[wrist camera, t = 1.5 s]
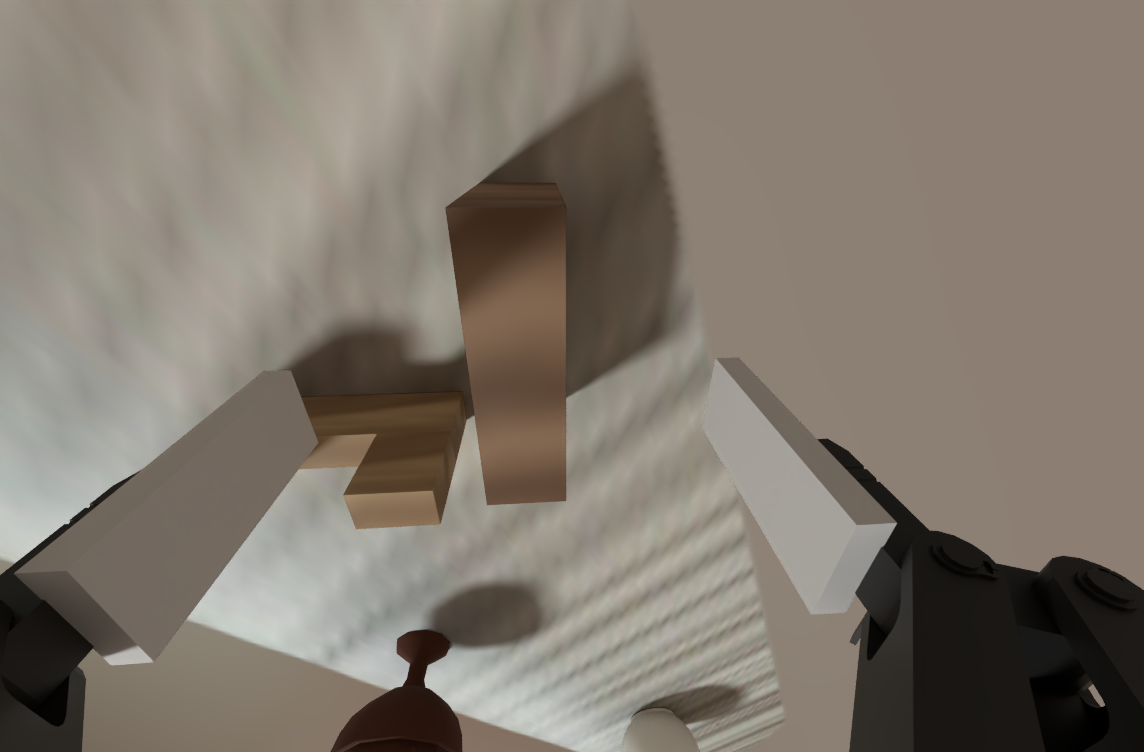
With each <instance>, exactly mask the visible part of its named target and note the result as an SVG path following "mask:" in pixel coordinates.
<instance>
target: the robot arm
mask: <svg viewBox="0 0 1144 752" xmlns="http://www.w3.org/2000/svg"><path fill="white" fill-rule="evenodd" d="M702 429H703V431H704V432H705V434H706V436H707V437H708V439H709V441H710V442H711V444H712V446H713V448H714V449H715V451H716V453H717V454H718V456H719V458H720V460H721V461H722V463H723V465H724V466H725V468H726V470H727V472H728V473H729V475H730V477H731V478H732V480H733V482H734V483H735V485H736V487H737V489H738V490H739V492H740V494H741V495H742V497H743V499H744V501H745V502H746V504H747V506H748V507H749V509H750V511H751V512H752V514H753V516H754V518H755V519H756V521H757V523H758V524H759V526H760V528H761V530H762V531H763V533H764V535H765V536H766V538H767V540H768V542H769V543H770V545H771V547H772V548H773V550H774V552H775V554H776V555H777V557H778V559H779V560H780V562H781V564H782V565H783V567H784V569H785V571H786V572H787V574H788V576H789V577H790V579H791V581H792V582H793V584H794V586H795V588H796V589H797V591H798V593H799V594H800V596H801V598H802V600H803V601H804V603H805V605H806V606H807V608H808V610H809V612H810V613H811V615H814V614H829V613H842V612H846V611H847V609H848V607H849V606H850V604H851V602H852V600H853V599H854V597H855V595H857V597H858V598H859V599H860V601H861V602H862V604H863V605H864V607H865V608H866V609H867V613H866V614H865V616H864V618H863V619H862V621H861V622H860V624H859V626H858V627H857V629H856V630H855V632H854V634H853V636H852V638H851V640H850V643H852V644H854V645H856V644H857V642H858V641H859V639H860V638H861V640H860V650H859V660H858V670H857V681H856V690H855V700H854V710H853V720H852V730H851V741H850V750H849V752H1144V590H1142V589H1141V588H1140V587H1138V586H1136V585H1135V584H1133V583H1132V582H1131V581H1129V580H1128V579H1126V578H1125V577H1123V576H1122V575H1120V574H1118V573H1116V572H1114V571H1111V570H1110V569H1107V568H1105V567H1103V566H1101V565H1098V564H1095V563H1092V562H1089V561H1087V560H1084V559H1081V558H1075V557H1067V556H1060V557H1056V558H1052V559H1051V560H1050V561H1049V563H1048V564H1047V565H1046V566H1045V567H1044V568H1043V569H1042V570H1041V571H1040V572H1035V571H1030V570H1025V569H1020V568H1016V567H1011V566H1006V565H1001V564H996V563H995V562H994V561H993V560H992V559H991V558H990V557H989V556H988V555H987V554H985V553H984V552H982V551H981V550H980V549H978V548H977V547H975V546H974V545H972V544H970V543H968V542H966V541H964V540H962V539H960V538H958V537H956V536H954V535H950V534H946V533H943V532H939V531H929V530H928V529H927V528H926V527H925V526H924V525H923V524H922V523H921V522H920V521H919V520H918V519H917V518H916V517H915V516H914V515H913V514H912V513H911V512H910V511H909V510H908V509H907V508H906V507H905V506H904V505H903V504H902V503H901V502H900V501H899V500H898V499H897V498H896V497H895V496H894V495H893V494H892V493H890V491H888V490H887V488H885V487H884V486H883V485H882V484H881V483H880V482H877V481H876V478H875V477H874V476H873V475H872V474H871V473H870V472H869V471H868V470H867V469H864V466H863V465H862V464H861V463H860V462H859V461H858V460H857V459H856V458H855V457H854V456H853V455H851V453H849V451H847V450H845V449H844V448H842V447H841V446H839V445H837V444H835V443H834V442H832V441H831V440H829V439H816V438H815V437H814V436H813V435H812V433H811V432H810V431H809V430H808V429H807V428H806V427H805V426H804V425H803V424H802V423H801V422H800V421H799V420H798V419H797V418H796V417H795V416H794V415H793V414H792V413H791V412H790V411H789V410H788V408H786V406H785V405H784V404H783V403H782V402H781V401H780V400H779V399H778V398H777V397H776V396H775V395H774V394H773V393H772V392H771V391H770V390H769V389H768V388H767V387H766V385H765V384H764V383H763V382H762V381H761V380H760V379H759V378H758V377H757V376H756V375H755V374H754V373H753V372H752V371H751V370H750V369H749V368H748V367H747V366H746V365H745V364H744V363H743V362H742V360H741V359H740V358H716V359H715V364H714V369H713V374H712V379H711V384H710V389H709V394H708V399H707V404H706V409H705V414H704V419H703V424H702ZM317 444H318V440H317V438H316V435H315V433H314V430H313V427H312V425H311V422H310V419H309V417H308V414H307V412H306V409H305V406H304V404H303V401H302V398H301V396H300V393H299V391H298V388H297V385H296V383H295V380H294V378H293V375H292V372H291V370H279V371H263V372H262V373H261V374H260V375H258V376H257V377H256V378H255V379H253V380H252V381H251V382H250V383H248V384H247V385H246V386H245V387H244V388H242V389H241V390H240V391H239V392H237V393H236V394H235V395H234V396H232V397H231V398H230V399H229V400H227V401H226V402H225V403H224V404H223V405H221V406H220V407H219V408H218V409H216V410H215V411H214V412H213V413H211V414H210V415H209V416H208V417H207V418H205V419H204V420H203V421H202V422H200V423H199V424H198V425H197V426H195V427H194V428H193V429H192V430H190V431H189V432H188V433H187V434H186V435H184V436H183V437H182V438H181V439H179V440H178V441H177V442H176V443H174V444H173V445H172V446H171V447H169V448H168V449H167V450H166V451H165V452H163V453H162V454H161V455H160V456H158V457H157V458H156V459H155V460H153V461H152V462H151V463H150V464H148V465H147V466H146V467H145V468H144V469H142V470H140V471H139V472H137V473H135V474H133V475H131V476H130V477H128V478H126V479H124V480H122V481H121V482H119V483H117V484H115V485H113V486H112V487H111V488H110V489H108V490H107V491H106V492H105V493H103V494H102V495H101V496H100V497H98V498H97V499H96V500H94V501H93V502H92V503H91V504H90V507H89V508H84V509H83V510H82V511H81V512H79V513H78V514H77V515H76V516H74V517H73V518H72V519H71V520H70V523H69V524H64V525H63V526H62V527H60V528H59V529H58V530H57V531H55V532H54V533H53V534H52V535H50V536H49V537H48V538H47V539H45V540H44V541H43V542H41V543H40V544H39V545H38V546H36V547H35V548H34V549H33V550H31V551H30V552H29V553H28V554H26V555H25V556H24V557H23V558H21V559H20V560H19V561H18V562H16V563H15V564H14V565H13V566H11V567H10V568H9V569H7V570H6V571H5V572H4V573H2V574H1V575H0V752H82V737H83V720H84V702H85V685H86V678H85V676H84V673H83V671H82V670H81V669H80V668H79V667H78V666H77V665H78V664H79V663H80V662H81V661H82V660H83V659H84V657H85V656H86V655H87V654H88V653H89V652H90V651H91V650H92V649H94V650H95V651H97V652H98V653H99V654H100V655H101V656H102V657H103V658H104V659H105V660H106V661H107V662H108V663H109V664H110V665H122V664H135V663H149V662H155V660H156V659H157V657H158V656H159V655H160V653H161V652H162V651H163V650H164V648H165V647H166V645H167V644H168V643H169V642H170V640H171V639H172V637H173V636H174V635H175V633H176V632H177V631H178V629H179V628H180V627H181V625H182V624H183V623H184V621H185V620H186V619H187V617H188V616H189V615H190V613H191V612H192V611H193V609H194V608H195V607H196V605H197V604H198V603H199V601H200V600H201V599H202V597H203V596H204V595H205V593H206V592H207V591H208V589H209V588H210V587H211V585H212V584H213V583H214V581H215V580H216V579H217V577H218V576H219V575H220V573H221V572H222V571H223V569H224V568H225V567H226V565H227V564H228V563H229V561H230V560H231V559H232V557H233V556H234V555H235V553H236V552H237V551H238V549H239V548H240V547H241V545H242V544H243V543H244V541H245V540H246V539H247V537H248V536H249V535H250V533H251V532H252V531H253V529H254V528H255V527H256V525H257V524H258V523H259V521H260V520H261V519H262V517H263V516H264V515H265V513H266V512H267V511H268V509H269V508H270V507H271V505H272V504H273V503H274V501H275V500H276V499H277V497H278V496H279V495H280V493H281V492H282V491H283V489H284V488H285V487H286V485H287V484H288V483H289V481H290V480H291V479H292V477H293V476H294V475H295V473H296V472H297V471H298V469H299V468H300V467H301V465H302V464H303V463H304V461H305V460H306V459H307V457H308V456H309V455H310V453H311V452H312V451H313V449H314V448H315V446H316V445H317ZM1092 684H1094V686H1095V688H1096V689H1097V691H1098V693H1099V694H1100V696H1101V697H1102V699H1103V701H1104V703H1105V706H1104V707H1100V705H1099V704H1098V703H1097V702H1096V700H1095V699H1094V697H1093V696H1092V694H1091V692H1090V691H1089V689H1088V688H1089V687H1090V686H1091V685H1092Z"/></svg>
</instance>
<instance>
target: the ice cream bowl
mask: <svg viewBox="0 0 1144 752" xmlns="http://www.w3.org/2000/svg"><path fill="white" fill-rule="evenodd" d="M449 644H450V641H449V640H448V639H446V638H445V637H444V636H443V635H442V634H439V633H435V632H431V631H427V630H423V631H414V632H408V633H406V634H405V635H403V636H401V637H400V638H398V639H397V654H398V655H400V656H401V657H402V658H403V659H405V660H406V661H407V662H409V663H410V667H409V672H408V677H407V680H406V681H405V683H404V684H403V686H402V687H397V688H394V689H393V690H391V691H389V692H387V693H385V694H384V695H382V696H380V697H378V698H376V699H375V700H373V701H371V702H370V703H368V704H367V705H366V706H365V707H363V708H362V709H361V710H360V711H358V712H357V713H356V714H355V715H353V716H352V718H351V719H350V720H349V722H348V723H347V724H346V726H345V727H344V728H343V730H342V731H341V732H340V734H339V736H338V738H337V740H336V742H335V744H334V746H333V748H332V750H331V752H462V734H461V730H460V725H459V721H458V718H457V717H456V715H455V714H454V712H453V711H452V709H451V708H450V706H449V705H448V704H447V703H446V702H445V701H444V700H443V699H442V698H440V697H439V696H438V695H437V694H435V693H434V692H433V691H432V690H430V689H428V688H425V683H424V678H425V674H426V670H427V666H428V665H429V664H431V663H433V662H436V661H437V660H439V659H441V658H443V657H444V656H446V654H447V652H448V649H449Z"/></svg>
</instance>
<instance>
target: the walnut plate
mask: <svg viewBox="0 0 1144 752" xmlns="http://www.w3.org/2000/svg"><path fill="white" fill-rule="evenodd" d="M446 215H447V222H448V229H449V236H450V243H451V251H452V258H453V265H454V272H455V279H456V286H457V293H458V301H459V308H460V315H461V322H462V329H463V336H464V343H465V351H466V358H467V365H468V372H469V379H470V386H471V393H472V401H473V408H474V415H475V422H476V429H477V436H478V443H479V451H480V458H481V465H482V472H483V479H484V486H485V493H486V501H487V505H498V504H517V503H536V502H555V501H566V206H565V204H564V202H563V199H562V197H561V195H560V193H559V190H558V188H557V186H556V184H555V183H479V184H477V185H476V186H475V187H473V188H472V189H470V190H469V191H468V192H466V193H465V194H463V195H462V196H461V197H459V198H458V199H457V200H455V201H454V202H452V203H451V204H450V205H448V206H447V207H446Z"/></svg>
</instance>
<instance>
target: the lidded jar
mask: <svg viewBox="0 0 1144 752" xmlns="http://www.w3.org/2000/svg"><path fill="white" fill-rule="evenodd" d="M621 752H700V751H699V748H698V745H697V743H696V741H695V739H694V737H693V735H692V733H691V732H690V730H689V728H688V727H687V726H686V725H685V724H684V723H683V722H682V721H681V720H680V719H679V718H678V717H676V716H675V715H674V713H673V711H672V710H670V709H667V708H650V709H646V710H642V711H640V712H638V713H636V714H635V715H633V716H632V718H631V723H630V724H629V726H628V728H627V730H626V732H625V734H624V737H623V741H622V747H621Z"/></svg>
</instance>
